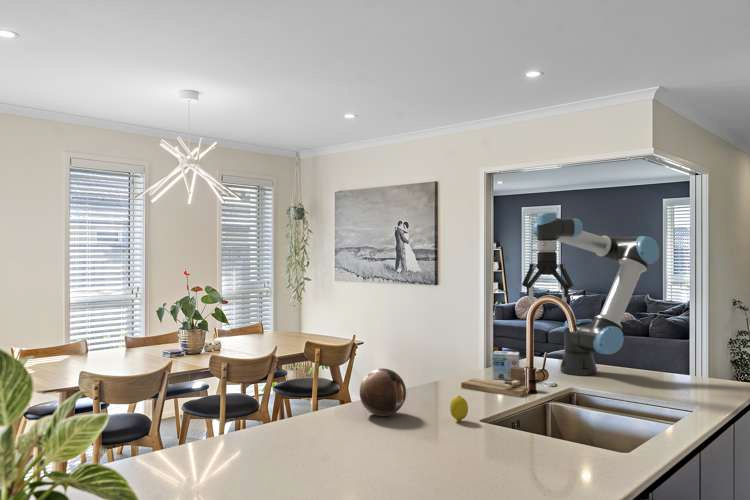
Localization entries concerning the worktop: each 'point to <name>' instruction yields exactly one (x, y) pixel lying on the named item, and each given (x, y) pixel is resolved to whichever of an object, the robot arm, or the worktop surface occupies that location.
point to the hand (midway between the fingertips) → (547, 304)
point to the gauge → (516, 377)
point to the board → (494, 387)
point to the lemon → (459, 408)
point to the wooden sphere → (382, 392)
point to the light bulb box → (504, 364)
